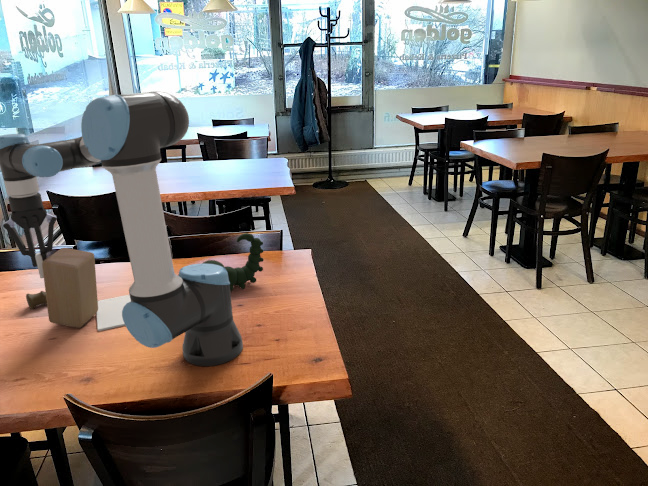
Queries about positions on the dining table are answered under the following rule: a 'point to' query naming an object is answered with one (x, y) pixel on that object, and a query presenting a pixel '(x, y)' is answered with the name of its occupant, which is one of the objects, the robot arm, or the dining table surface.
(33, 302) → the kendama
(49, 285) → the wooden block
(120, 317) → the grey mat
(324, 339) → the dining table surface
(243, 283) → the toy figurine
